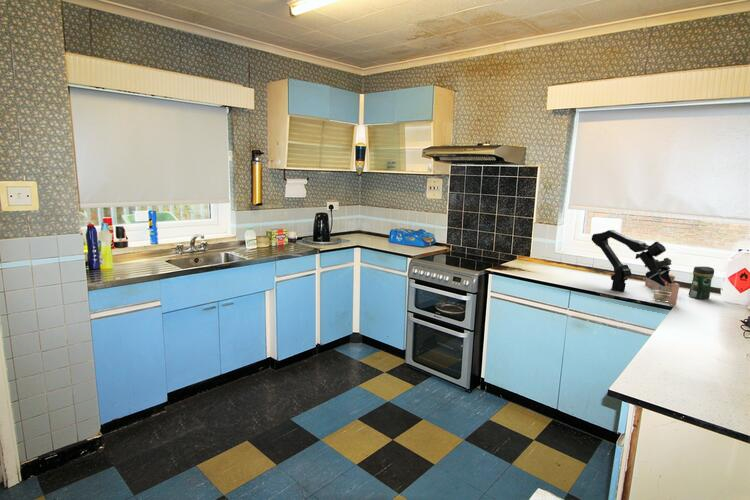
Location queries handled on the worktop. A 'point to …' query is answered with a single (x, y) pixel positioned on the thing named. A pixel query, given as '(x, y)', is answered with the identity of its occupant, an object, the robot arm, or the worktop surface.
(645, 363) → the worktop surface
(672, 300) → the needle peg
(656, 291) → the bead block
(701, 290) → the coffee jar
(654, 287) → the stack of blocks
